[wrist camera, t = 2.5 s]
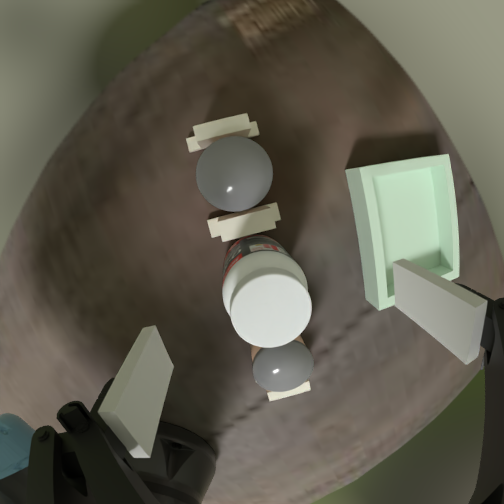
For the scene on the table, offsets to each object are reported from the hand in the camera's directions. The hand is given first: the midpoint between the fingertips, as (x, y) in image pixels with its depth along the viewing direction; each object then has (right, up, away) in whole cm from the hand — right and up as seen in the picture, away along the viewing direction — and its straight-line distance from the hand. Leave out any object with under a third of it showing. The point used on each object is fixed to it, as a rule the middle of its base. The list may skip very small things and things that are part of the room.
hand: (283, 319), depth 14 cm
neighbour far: (+1, -5, +13) cm, 14 cm away
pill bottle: (-1, +2, +11) cm, 12 cm away
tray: (+14, +6, +11) cm, 19 cm away
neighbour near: (-3, +10, +9) cm, 14 cm away
